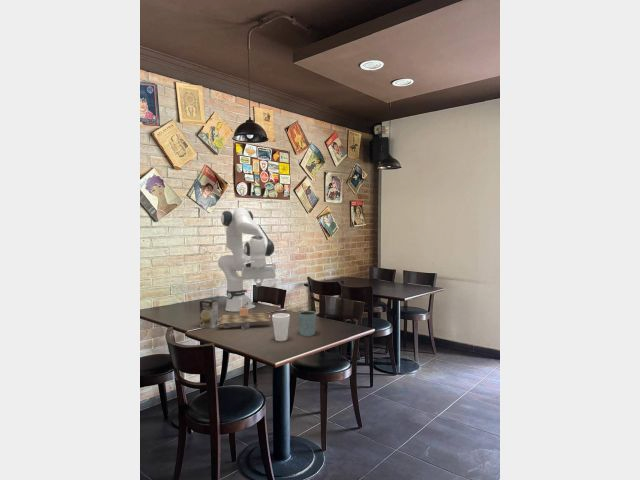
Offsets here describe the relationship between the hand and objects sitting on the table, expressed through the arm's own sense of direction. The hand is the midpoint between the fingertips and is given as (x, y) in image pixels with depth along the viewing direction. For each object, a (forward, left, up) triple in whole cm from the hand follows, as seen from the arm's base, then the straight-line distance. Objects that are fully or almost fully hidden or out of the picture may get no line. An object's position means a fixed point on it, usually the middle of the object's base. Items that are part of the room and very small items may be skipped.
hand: (258, 286), depth 236 cm
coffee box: (+16, -26, -25) cm, 39 cm away
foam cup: (+13, +27, -25) cm, 39 cm away
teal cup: (-3, +33, -25) cm, 41 cm away
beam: (+6, -6, -24) cm, 26 cm away
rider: (+6, -6, -18) cm, 20 cm away
